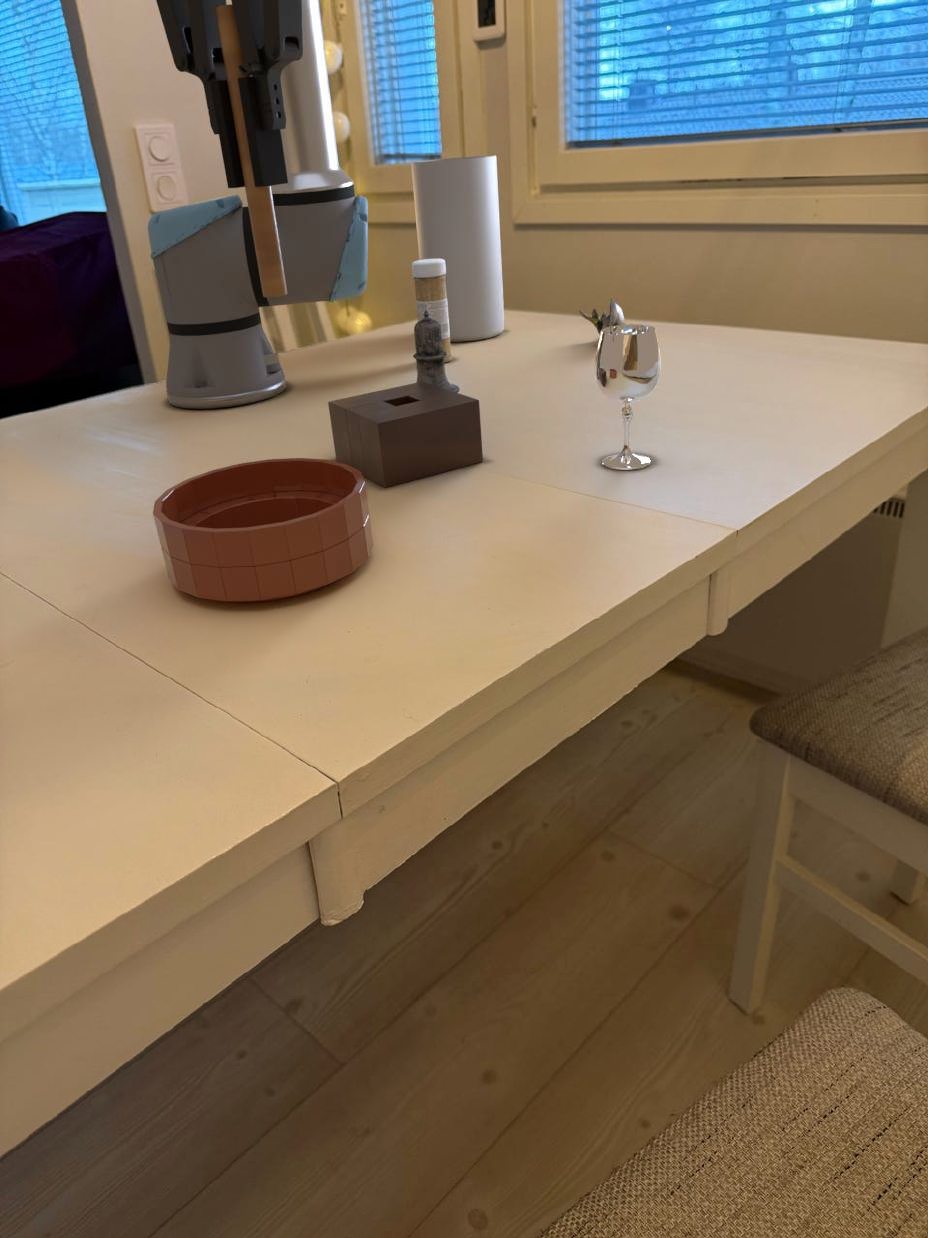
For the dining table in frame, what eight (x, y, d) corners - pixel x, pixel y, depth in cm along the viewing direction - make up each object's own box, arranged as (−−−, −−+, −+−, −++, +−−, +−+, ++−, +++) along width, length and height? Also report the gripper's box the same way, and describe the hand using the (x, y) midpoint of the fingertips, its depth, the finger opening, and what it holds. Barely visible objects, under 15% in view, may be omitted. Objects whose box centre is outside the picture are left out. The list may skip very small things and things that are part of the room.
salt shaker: (455, 429, 98) (447, 314, 93) (403, 430, 100) (391, 316, 94) (466, 414, 104) (458, 304, 98) (416, 415, 105) (406, 306, 99)
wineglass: (619, 476, 82) (620, 339, 76) (582, 460, 86) (581, 329, 81) (670, 463, 84) (675, 328, 78) (632, 448, 88) (634, 320, 83)
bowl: (148, 561, 72) (130, 489, 69) (324, 513, 79) (313, 445, 76) (208, 633, 61) (189, 550, 58) (408, 570, 67) (400, 492, 64)
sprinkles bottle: (449, 356, 132) (441, 256, 125) (455, 362, 128) (448, 259, 121) (417, 359, 131) (408, 259, 125) (423, 366, 127) (414, 263, 121)
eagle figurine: (567, 336, 132) (600, 333, 124) (586, 289, 132) (620, 283, 124) (608, 359, 136) (642, 357, 128) (627, 313, 135) (662, 309, 127)
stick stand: (336, 460, 92) (327, 401, 89) (428, 438, 96) (422, 381, 94) (385, 487, 84) (377, 423, 81) (483, 461, 88) (479, 399, 85)
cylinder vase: (481, 344, 137) (470, 158, 126) (411, 341, 143) (394, 163, 132) (518, 327, 147) (511, 153, 135) (451, 325, 153) (438, 158, 141)
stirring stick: (259, 295, 68) (211, 7, 60) (282, 292, 69) (237, 7, 60) (268, 298, 67) (219, 4, 58) (291, 294, 68) (246, 3, 59)
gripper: (48, -246, 54) (143, 194, 65) (241, -318, 47) (310, 186, 58) (143, -216, 59) (215, 184, 71) (327, -276, 53) (374, 176, 64)
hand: (258, 184), depth 64 cm, fingers closed on stirring stick, 2 cm apart
